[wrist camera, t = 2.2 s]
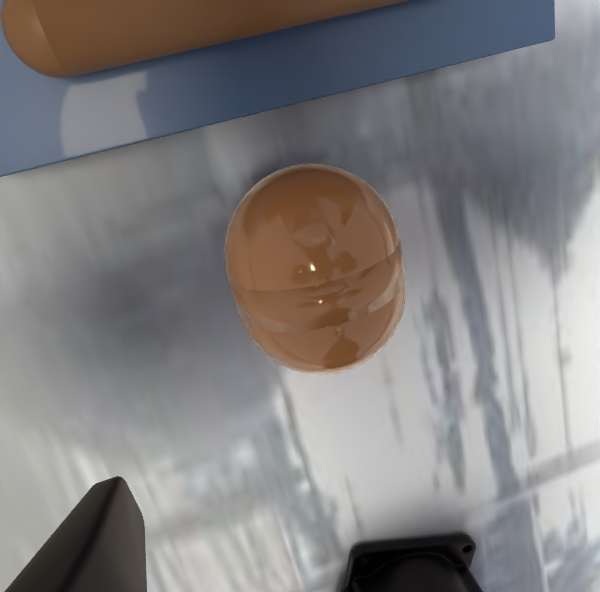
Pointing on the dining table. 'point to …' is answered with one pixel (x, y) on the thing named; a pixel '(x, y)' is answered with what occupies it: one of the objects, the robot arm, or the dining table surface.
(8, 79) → the brush
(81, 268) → the dining table surface
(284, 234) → the egg
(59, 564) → the robot arm
